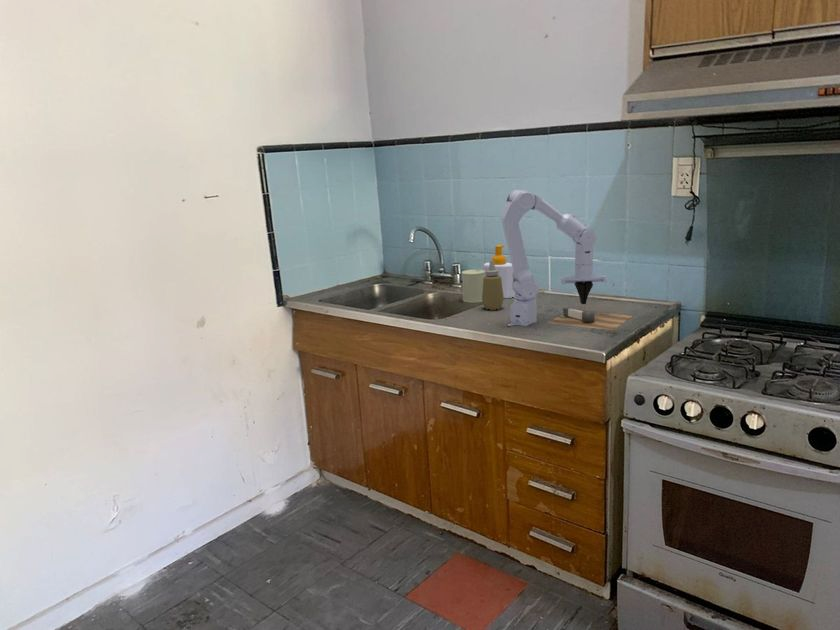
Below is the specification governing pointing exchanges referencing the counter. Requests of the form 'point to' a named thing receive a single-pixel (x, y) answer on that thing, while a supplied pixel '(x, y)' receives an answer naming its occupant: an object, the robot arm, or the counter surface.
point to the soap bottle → (503, 271)
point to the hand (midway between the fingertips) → (583, 303)
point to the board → (600, 321)
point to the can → (472, 285)
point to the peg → (580, 314)
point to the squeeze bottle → (492, 289)
